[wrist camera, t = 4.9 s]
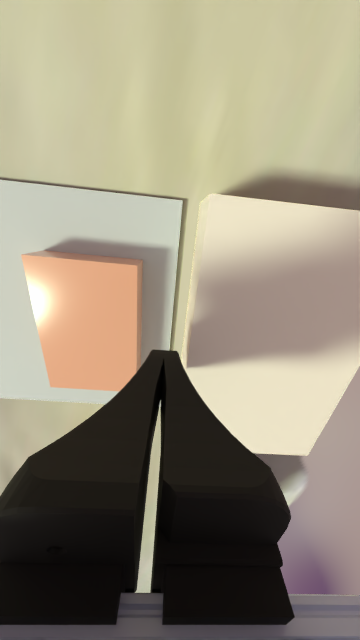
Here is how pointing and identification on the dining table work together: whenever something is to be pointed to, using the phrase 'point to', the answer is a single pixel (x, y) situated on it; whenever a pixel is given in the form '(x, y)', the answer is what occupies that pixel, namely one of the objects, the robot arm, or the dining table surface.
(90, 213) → the mat
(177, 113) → the dining table surface
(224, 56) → the dining table surface
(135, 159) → the dining table surface
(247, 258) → the cream rectangular block
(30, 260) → the terracotta tile
